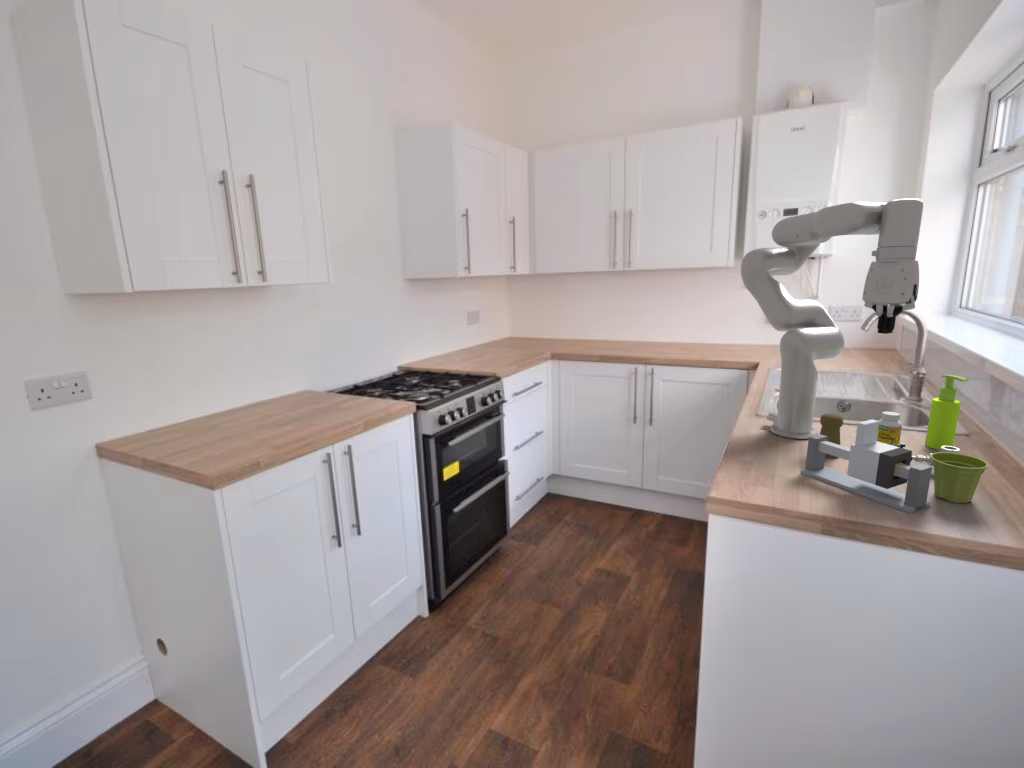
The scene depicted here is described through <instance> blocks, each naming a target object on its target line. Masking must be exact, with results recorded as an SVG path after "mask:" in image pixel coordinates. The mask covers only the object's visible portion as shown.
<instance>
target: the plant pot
mask: <svg viewBox="0 0 1024 768" xmlns="http://www.w3.org/2000/svg"><path fill="white" fill-rule="evenodd" d="M930 458H931V459H932V462H933V465H934V466H933V478H934V479H933V481H934V482H933V483H934V485H933V487H934V488H933V489H934V490H933V491H934V495H935V496H936V497H937V498H939V499H945V500H947V502H951V503H956V504H957V503H958V504H967V503H968V502H972V500H973V498H974V496H975V491H976V489H977V487H978V484H979V482H980V480H981V476H982V475H983V474H984V472H985V470H986V469H988V468H989V463H988V462H987V461H985V460H983V459H981V458H978V457H974V456H972V455H968V454H962V453H960V454H957V453H948V452H940V451H939V452H933V453H932V454H931V455H930Z"/></svg>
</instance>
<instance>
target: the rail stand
mask: <svg viewBox="0 0 1024 768" xmlns="http://www.w3.org/2000/svg"><path fill="white" fill-rule="evenodd" d="M827 438H828V436H824V435H821V434H820V433H818V435H814V436H810V437H809V439H807V440H808V441H807V442H808V443H807V449H806V450H807V451H806V457H805V458H806V461H805V468H801V470H800V473H801V474H803V475H806V476H808V477H811V478H814V479H817V480H820V481H822V482H825V483H827V484H831V485H833V486H836V487H839V488H841V489H843V490H847V491H849V492H851V493H855V494H857V495H861V496H863V497H865V498H869V499H870V500H874V501H875V502H879V503H881V504H883V505H886V506H890V507H892V508H894V509H898V510H900V511H903V512H905V513H908V514H912V513H915V512H917V511H919V510H923V509H925V508H929V507H930V506H931V505H930V504H931V502H930V501H928V496H929V495H928V494H929V490H930V489H929V488H930V482H931V478H932V477H931V476H932V471H933V466H929V465H928V464H926V463H925V464H924V463H918V464H915V465H910V466H908V465H905V464H903V462H896V463H895V469H894V476H898V477H901V478H905V479H908V481H907V483H906V490H905V493H904V492H902V491H899V490H895V489H892V488H889V489H885V488H882V487H880V486H877V485H874V484H871V483H868V482H865V481H862V480H859V479H856V478H854V477H851V476H848V475H847V473H845V472H843V471H841V470H837V469H834V468H832V467H829V466H826V465H825V462H826V457H825V455H826V454H830V455H833V456H836V457H839V458H840V459H842V460H846V461H848V462H849V456H850V448H851V447H848V446H845V445H841V444H840V445H838V444H835V443H831V442H828V441H827ZM839 458H838V459H839Z"/></svg>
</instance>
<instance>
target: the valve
mask: <svg viewBox="0 0 1024 768" xmlns="http://www.w3.org/2000/svg"><path fill="white" fill-rule="evenodd" d="M896 447H900V448H906V443H899V444H897V445H896ZM939 452H948V453H957V454H961V449H960V448H959V447H955V446H953V447H952V446H942V447H941V448H940V450H939ZM931 454H933V453H931V452H930V453H928V454H927V455H925V456H924V455H923V454H915V455H912V456H911V462H912V461H915V462H916V463H923V462H924V463H925V464H927V465H928V466H932V467H934V465H933V462H932V459H931V458H930V455H931Z"/></svg>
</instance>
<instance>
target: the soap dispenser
mask: <svg viewBox="0 0 1024 768" xmlns="http://www.w3.org/2000/svg"><path fill="white" fill-rule="evenodd" d="M942 378H945V383H944V385H942V386H940V387H939V393H938V397H933V398H932V399H931V405H930V411H929V416H928V417H929V418H928V423H927V429H926V436H925V441H924V445H925V446H926V447H928V448H931V449H934V450H939V451H940V448H941V447H942V446H952V447H954V443H955V437H956V432H957V431H956V430H957V425H958V419H959V413H960V407H961V403H962V401H960V400H958V399H956V396H957V390H958V389H957V387H955V386H954V383H955V380H957V381H960V382H967V381H969V379H968V378H966V377H963V376H961V375H954V374H942Z"/></svg>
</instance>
